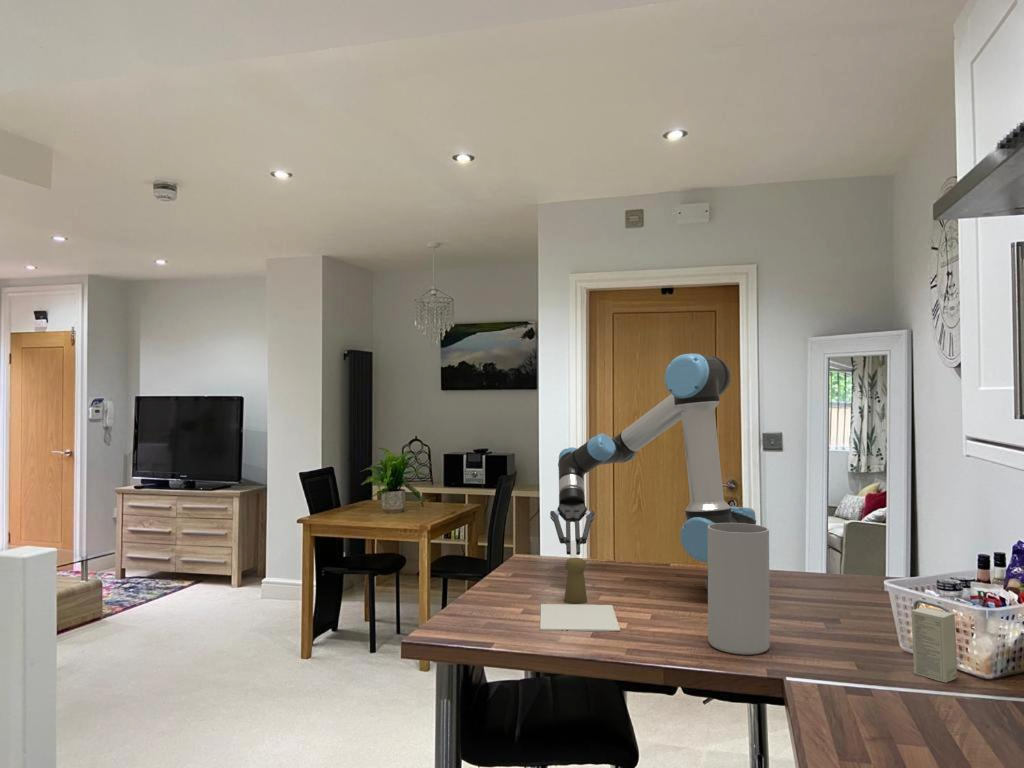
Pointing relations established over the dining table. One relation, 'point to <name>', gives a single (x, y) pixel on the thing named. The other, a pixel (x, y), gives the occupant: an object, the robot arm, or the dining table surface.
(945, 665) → the skincare box
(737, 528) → the cylinder vase
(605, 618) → the felt mat
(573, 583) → the cork
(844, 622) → the dining table surface
